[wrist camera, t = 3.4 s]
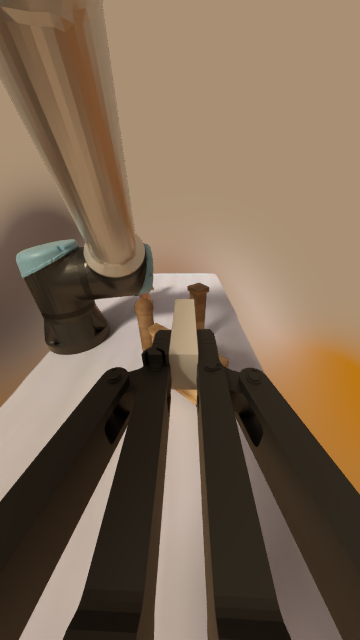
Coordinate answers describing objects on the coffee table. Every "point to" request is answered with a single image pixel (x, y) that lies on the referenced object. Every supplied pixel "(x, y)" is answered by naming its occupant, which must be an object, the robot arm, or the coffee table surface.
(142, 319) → the hinge post
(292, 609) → the coffee table surface
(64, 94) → the robot arm
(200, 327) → the latch post
